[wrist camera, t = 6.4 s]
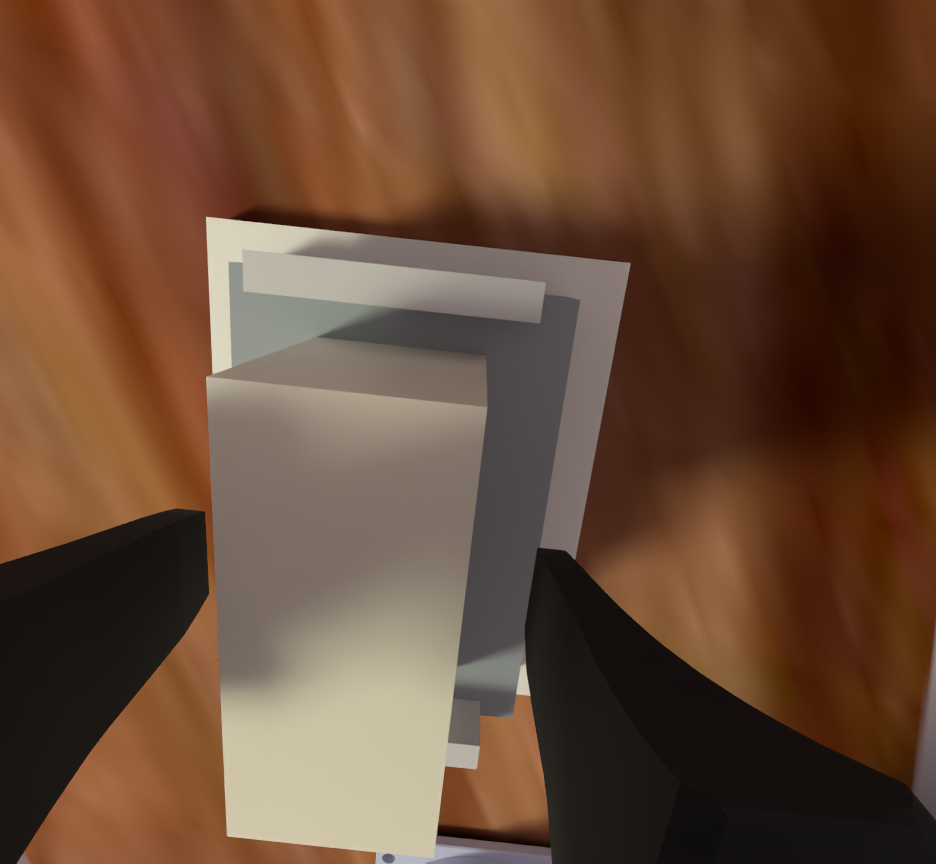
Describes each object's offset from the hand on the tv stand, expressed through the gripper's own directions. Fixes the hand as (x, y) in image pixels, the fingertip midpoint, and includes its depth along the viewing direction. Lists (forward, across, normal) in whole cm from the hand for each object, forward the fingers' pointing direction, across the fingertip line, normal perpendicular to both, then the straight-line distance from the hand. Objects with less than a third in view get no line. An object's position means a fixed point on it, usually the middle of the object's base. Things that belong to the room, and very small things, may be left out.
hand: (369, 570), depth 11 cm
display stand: (+5, 0, 0) cm, 5 cm away
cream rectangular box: (+2, 0, 0) cm, 2 cm away
